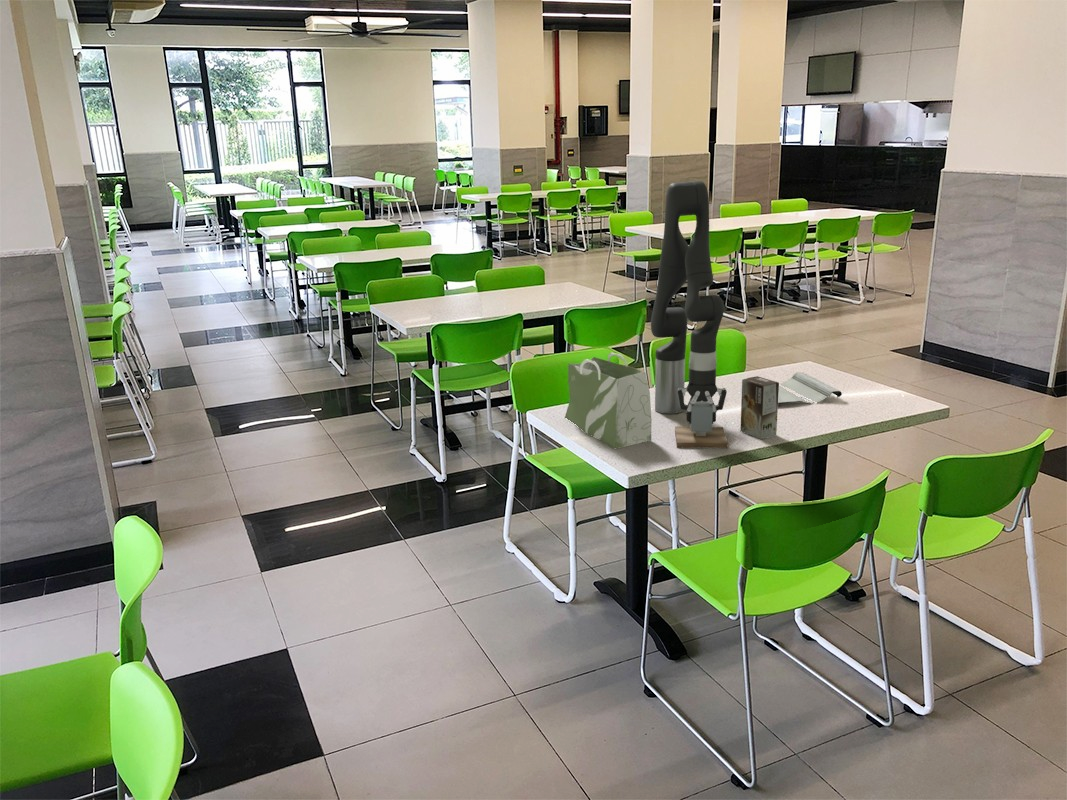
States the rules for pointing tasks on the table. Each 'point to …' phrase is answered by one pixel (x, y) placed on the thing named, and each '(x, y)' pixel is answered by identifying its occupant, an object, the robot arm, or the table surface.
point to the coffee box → (759, 407)
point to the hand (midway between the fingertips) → (700, 423)
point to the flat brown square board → (700, 438)
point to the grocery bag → (610, 401)
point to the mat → (805, 389)
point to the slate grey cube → (701, 417)
